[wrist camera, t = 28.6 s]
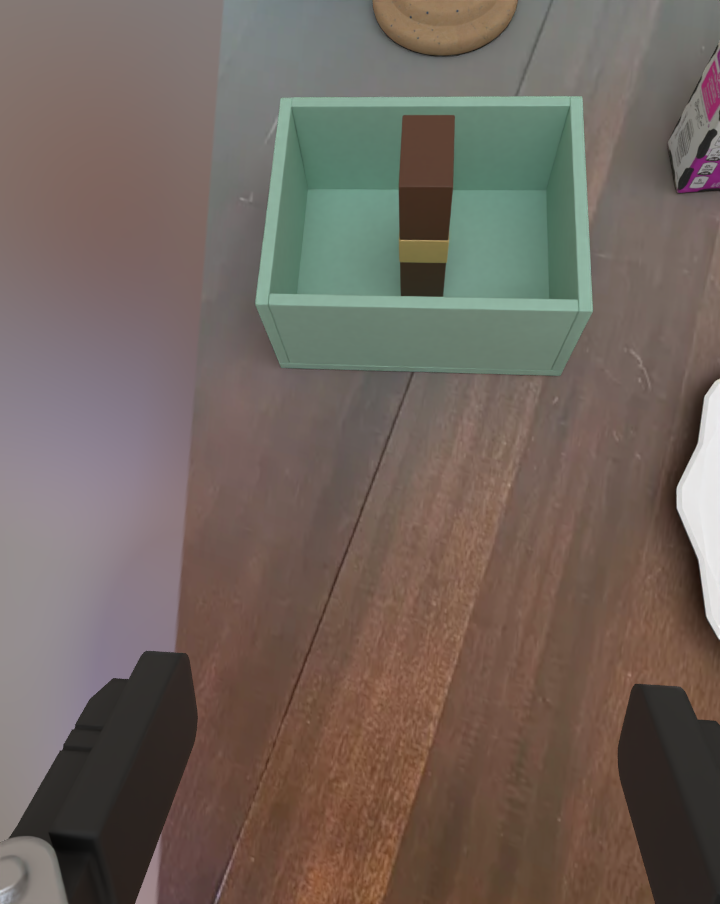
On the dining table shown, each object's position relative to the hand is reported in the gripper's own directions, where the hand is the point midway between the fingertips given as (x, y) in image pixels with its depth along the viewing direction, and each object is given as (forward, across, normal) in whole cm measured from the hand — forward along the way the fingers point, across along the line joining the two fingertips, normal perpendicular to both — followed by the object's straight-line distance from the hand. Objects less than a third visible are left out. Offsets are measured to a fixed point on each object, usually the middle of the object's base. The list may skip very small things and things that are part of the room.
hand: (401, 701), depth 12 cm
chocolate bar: (+41, 0, +1) cm, 41 cm away
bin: (+42, 0, +1) cm, 42 cm away
